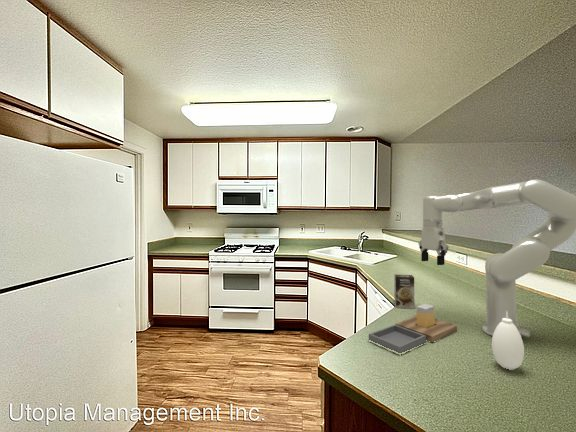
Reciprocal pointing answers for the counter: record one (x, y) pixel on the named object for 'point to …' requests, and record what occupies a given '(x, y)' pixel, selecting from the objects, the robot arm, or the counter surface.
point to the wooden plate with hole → (431, 333)
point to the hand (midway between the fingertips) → (432, 262)
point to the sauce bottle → (507, 344)
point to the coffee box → (404, 291)
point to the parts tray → (397, 338)
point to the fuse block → (425, 316)
